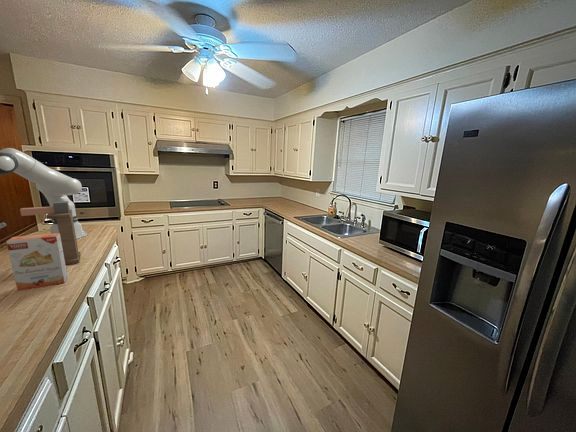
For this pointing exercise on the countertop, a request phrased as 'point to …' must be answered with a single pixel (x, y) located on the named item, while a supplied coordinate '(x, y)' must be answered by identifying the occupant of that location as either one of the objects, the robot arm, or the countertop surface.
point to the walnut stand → (67, 237)
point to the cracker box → (37, 260)
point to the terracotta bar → (47, 209)
